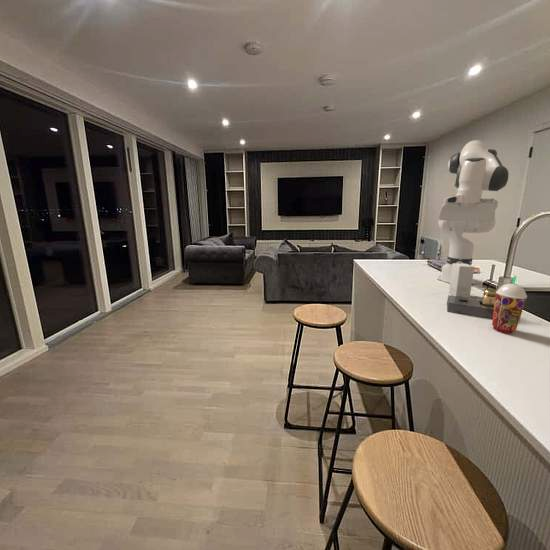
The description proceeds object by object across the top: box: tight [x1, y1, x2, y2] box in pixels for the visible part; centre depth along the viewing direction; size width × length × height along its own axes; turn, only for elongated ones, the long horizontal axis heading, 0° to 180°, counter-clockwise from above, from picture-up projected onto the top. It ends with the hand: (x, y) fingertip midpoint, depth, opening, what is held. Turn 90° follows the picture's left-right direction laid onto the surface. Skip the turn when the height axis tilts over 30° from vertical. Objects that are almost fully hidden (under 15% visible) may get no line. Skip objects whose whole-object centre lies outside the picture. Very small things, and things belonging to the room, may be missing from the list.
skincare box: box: [448, 263, 475, 298], centre depth 135 cm, size 8×7×16 cm
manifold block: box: [446, 294, 494, 320], centre depth 116 cm, size 11×20×4 cm, turn 60°
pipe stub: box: [481, 288, 498, 307], centre depth 114 cm, size 5×5×10 cm
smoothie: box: [491, 275, 528, 335], centre depth 98 cm, size 8×8×20 cm
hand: (462, 231), depth 122 cm, fingers open, 8 cm apart
